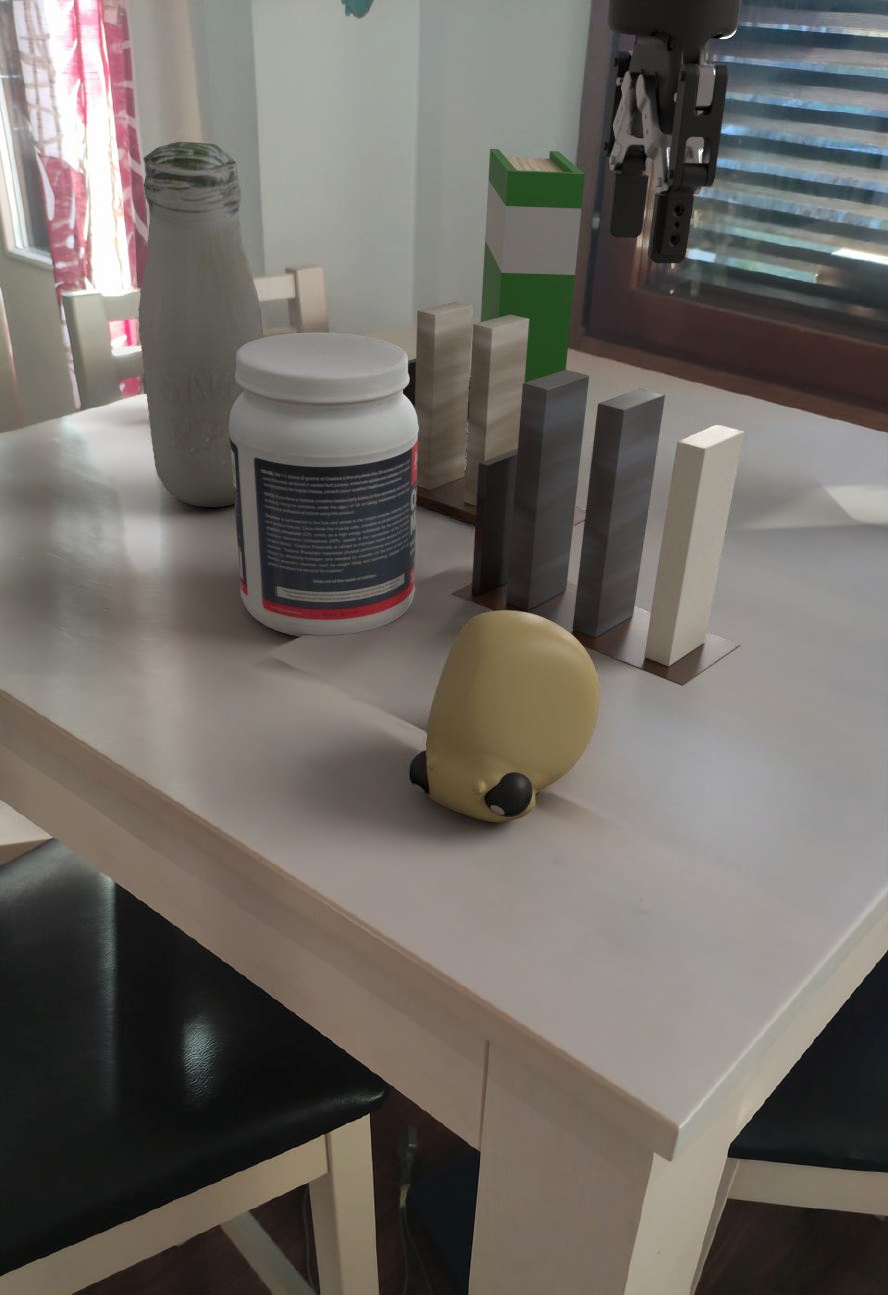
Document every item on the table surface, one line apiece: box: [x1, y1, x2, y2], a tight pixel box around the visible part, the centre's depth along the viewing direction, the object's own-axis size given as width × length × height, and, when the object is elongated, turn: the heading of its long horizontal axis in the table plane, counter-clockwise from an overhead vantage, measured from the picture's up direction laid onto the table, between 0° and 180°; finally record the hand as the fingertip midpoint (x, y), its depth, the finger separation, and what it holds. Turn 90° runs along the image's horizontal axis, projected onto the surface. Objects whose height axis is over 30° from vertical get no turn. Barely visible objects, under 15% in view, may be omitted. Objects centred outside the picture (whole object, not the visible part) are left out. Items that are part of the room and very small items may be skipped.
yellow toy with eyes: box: [408, 610, 601, 823], centre depth 66 cm, size 10×12×11 cm
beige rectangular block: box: [644, 424, 745, 666], centre depth 77 cm, size 2×5×15 cm, turn 140°
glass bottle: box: [138, 141, 264, 508], centre depth 95 cm, size 10×10×28 cm
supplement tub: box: [229, 332, 419, 638], centre depth 81 cm, size 13×13×18 cm
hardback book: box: [480, 148, 586, 383], centre depth 125 cm, size 18×7×24 cm, turn 4°
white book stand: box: [403, 301, 586, 527], centre depth 100 cm, size 20×8×16 cm, turn 50°
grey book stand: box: [451, 369, 741, 687], centre depth 80 cm, size 20×8×17 cm, turn 50°
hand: (643, 248), depth 75 cm, fingers open, 8 cm apart
